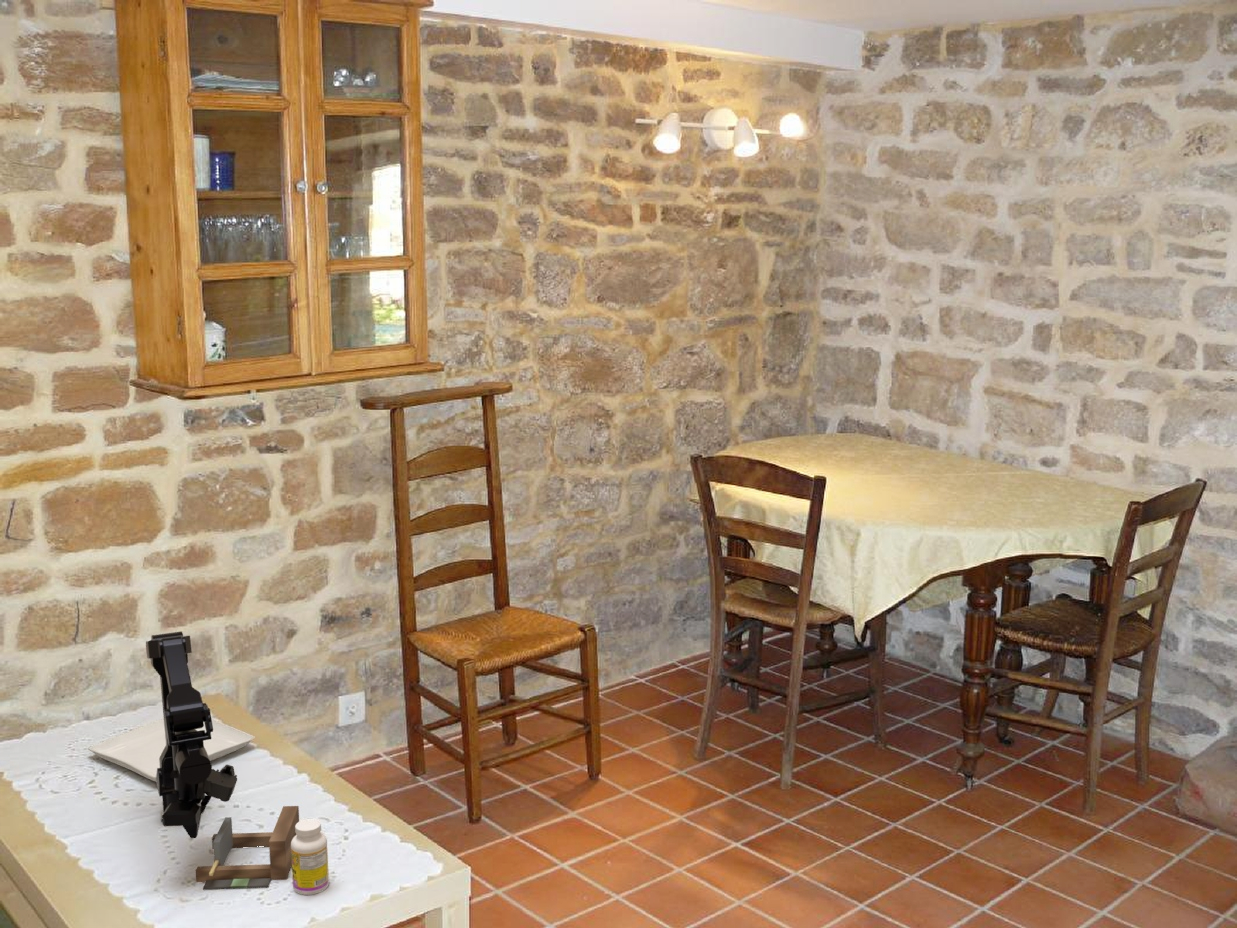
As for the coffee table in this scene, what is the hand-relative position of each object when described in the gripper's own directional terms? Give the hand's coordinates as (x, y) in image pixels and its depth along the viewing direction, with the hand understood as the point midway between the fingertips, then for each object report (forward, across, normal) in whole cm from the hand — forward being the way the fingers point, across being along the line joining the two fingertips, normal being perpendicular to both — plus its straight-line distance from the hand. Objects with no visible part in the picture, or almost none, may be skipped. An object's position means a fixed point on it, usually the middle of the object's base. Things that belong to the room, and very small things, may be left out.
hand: (194, 837), depth 240 cm
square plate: (+6, +51, +18) cm, 54 cm away
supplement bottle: (+6, -10, -24) cm, 27 cm away
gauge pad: (+5, -2, -5) cm, 8 cm away
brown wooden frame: (+6, -1, -10) cm, 12 cm away
